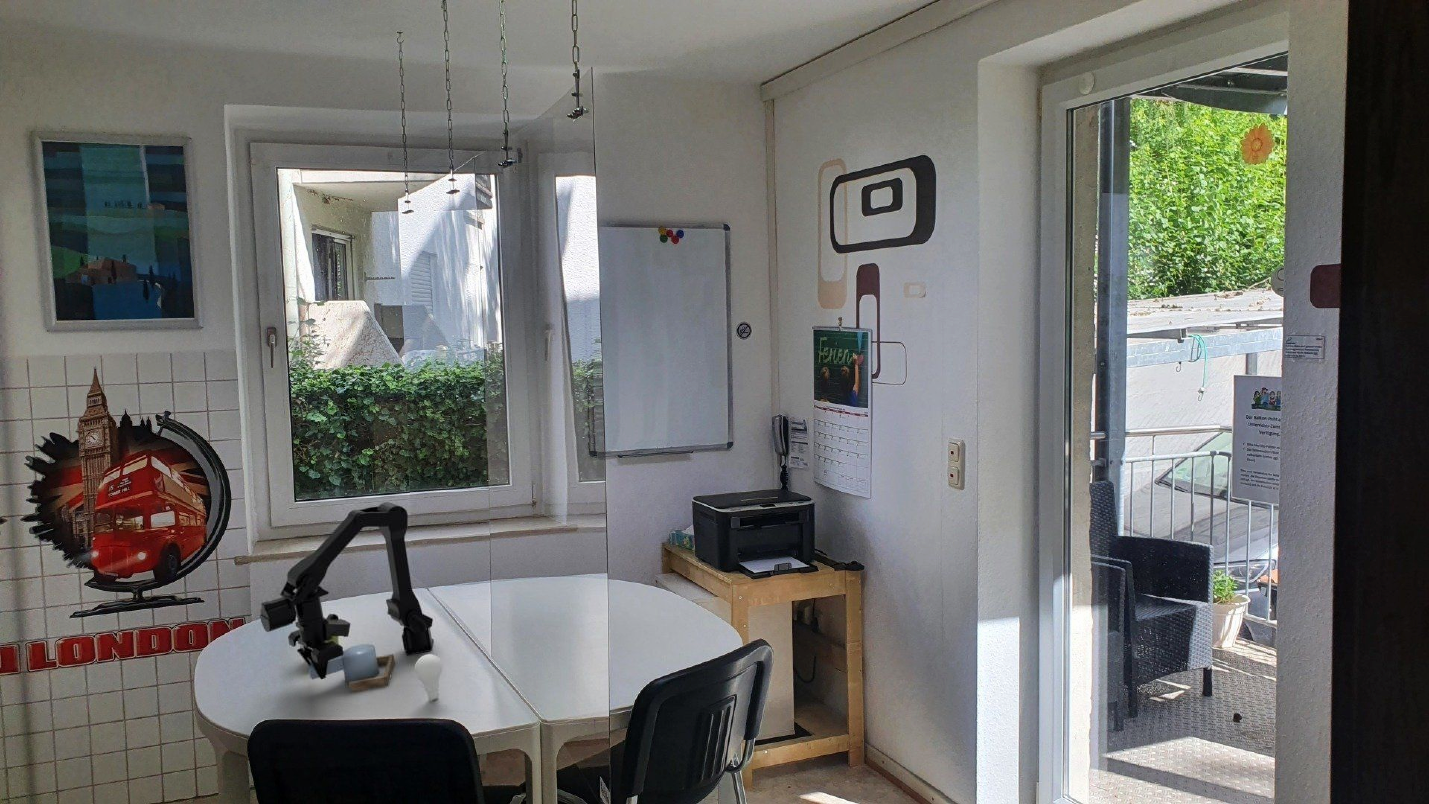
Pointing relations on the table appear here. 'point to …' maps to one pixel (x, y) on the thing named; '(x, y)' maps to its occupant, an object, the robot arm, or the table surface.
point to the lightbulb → (429, 674)
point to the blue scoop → (353, 663)
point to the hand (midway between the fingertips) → (320, 677)
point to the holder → (375, 681)
